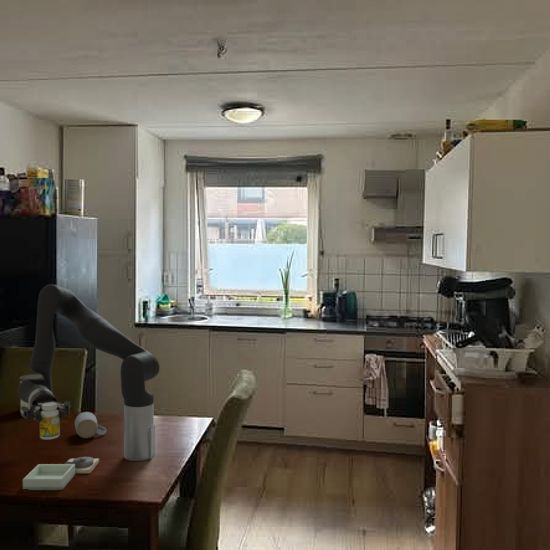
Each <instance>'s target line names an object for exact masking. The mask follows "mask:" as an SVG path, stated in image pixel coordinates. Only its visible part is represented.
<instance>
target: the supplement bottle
mask: <svg viewBox="0 0 550 550" xmlns="http://www.w3.org/2000/svg"><path fill="white" fill-rule="evenodd" d="M56 408H57V403H55V402H48V403H44V404H42V410H43V411H42V412H41V413H40V414H41V422H39V438H40V439H41V440H53V439H57V438H59V437H60V435H61V433H60V432H61V426H60V425H61V421H60V420H61V419H60V413H59V411H58V410H57V409H56Z"/></svg>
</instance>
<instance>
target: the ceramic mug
mask: <svg viewBox="0 0 550 550" xmlns="http://www.w3.org/2000/svg"><path fill="white" fill-rule="evenodd" d="M74 427H75V432H76V434H77V435H78V436H79V437H80V438H82V439H91V438H92V437H94V436H95V435H96V434H97V435H100V436H105V435H106V432H107V428H106V427H104V426H102V425H101V424H98V420H97V417H96V415H95V414H93V413H92V412H90V411H84V412H81V413H79V414H78V415H76V417H75V420H74Z"/></svg>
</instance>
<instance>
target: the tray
mask: <svg viewBox="0 0 550 550" xmlns="http://www.w3.org/2000/svg"><path fill="white" fill-rule="evenodd" d="M75 475H76V473H75V464H65V463H64V464H63V463H58V464H57V463H55V464H54V463H50V464H48V463H45V464H44V463H41V464H40V463H39V464H37V465H36V466H35V467H34V468H33V469H32V470H31V471H30V472H29V473H28V474H27V475H26V476H25V477H23V478H22V490H23V489H28V490H27V491H63V489H64V488H66V486H67V485H68V483H69V482H70V481H71V480H72V479H73V477H74V476H75Z"/></svg>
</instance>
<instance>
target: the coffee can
mask: <svg viewBox="0 0 550 550" xmlns="http://www.w3.org/2000/svg"><path fill="white" fill-rule="evenodd" d="M25 379H35V380H43V377H42V375H41V374H39V373H29V374H25V375H22V376H20V377H19V384H20V383H21V382H22V381H23V380H25ZM19 400H20V401H19V403H20V404H19V406H20V407H19V408H20V410H19V411H20V413H21V407H23V406H25V407H28V408H30V407H29V403H26V402H24V401H22V400H21V399H20V398H19Z"/></svg>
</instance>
